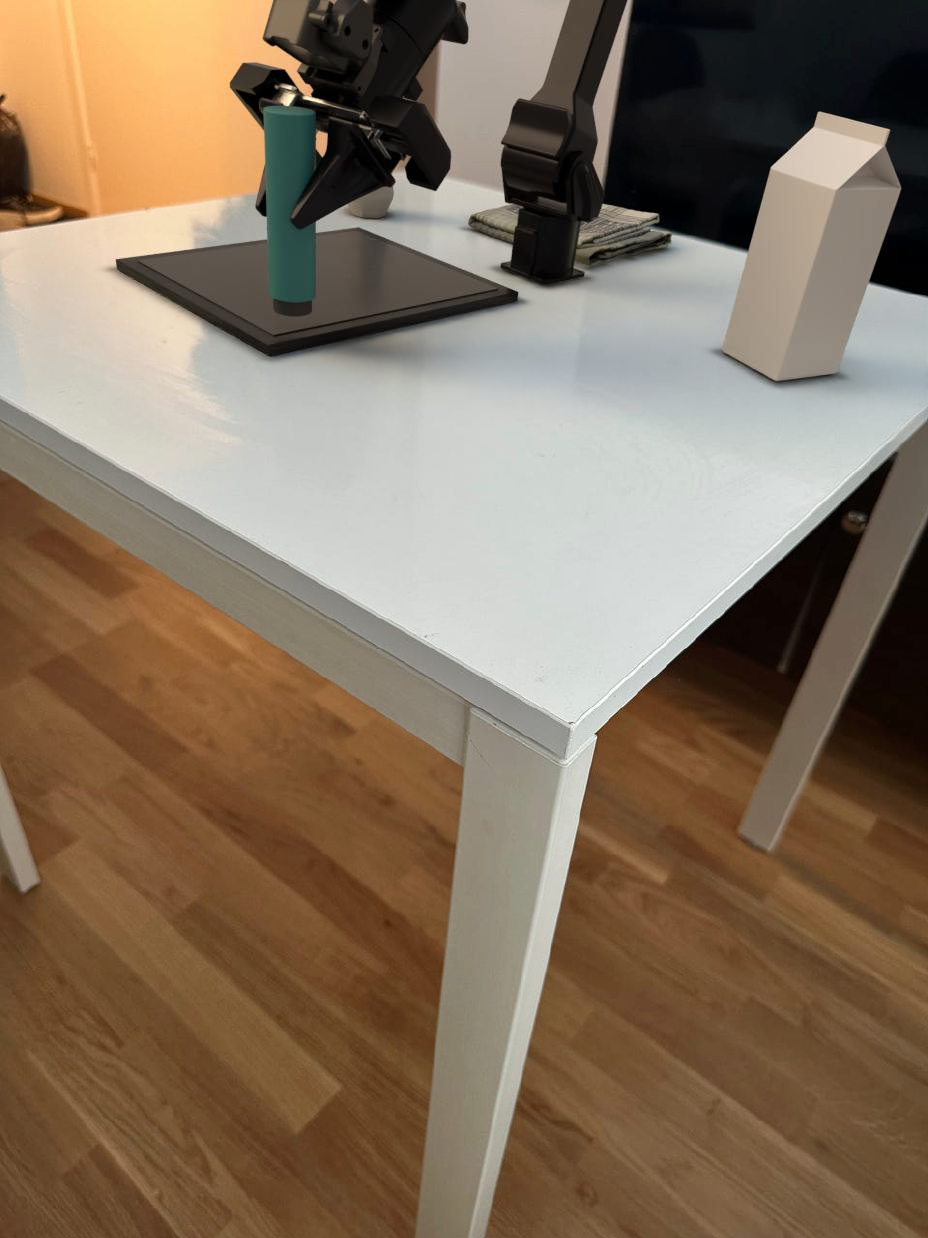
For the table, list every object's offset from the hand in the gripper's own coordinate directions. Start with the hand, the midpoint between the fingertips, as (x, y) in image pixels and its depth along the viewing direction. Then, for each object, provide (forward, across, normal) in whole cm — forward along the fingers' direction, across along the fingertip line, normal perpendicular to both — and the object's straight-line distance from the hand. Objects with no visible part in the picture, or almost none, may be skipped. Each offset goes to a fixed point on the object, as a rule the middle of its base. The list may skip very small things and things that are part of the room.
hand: (277, 218), depth 68 cm
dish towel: (-28, -7, +42) cm, 51 cm away
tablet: (-2, -9, +16) cm, 18 cm away
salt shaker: (-18, -26, +32) cm, 45 cm away
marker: (+4, 0, +6) cm, 7 cm away
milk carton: (-16, +28, +30) cm, 44 cm away
